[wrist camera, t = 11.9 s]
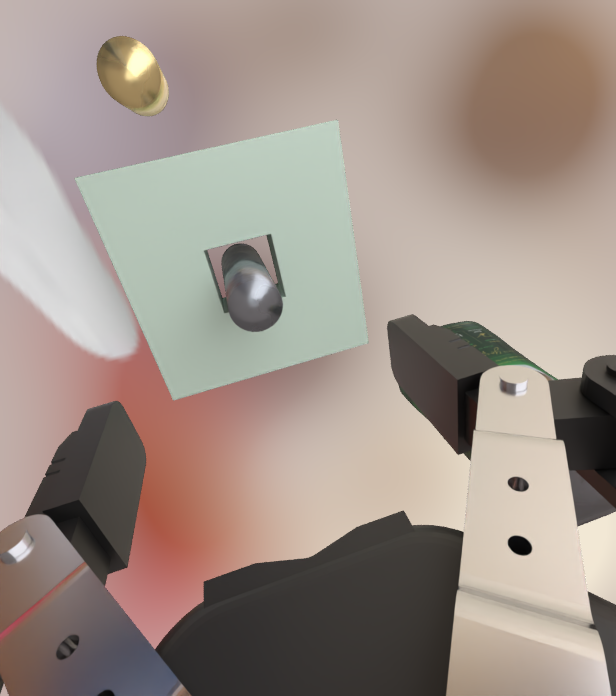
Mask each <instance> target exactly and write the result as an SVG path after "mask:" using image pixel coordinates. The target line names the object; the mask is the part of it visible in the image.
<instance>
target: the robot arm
mask: <svg viewBox="0 0 616 696" xmlns="http://www.w3.org/2000/svg"><path fill="white" fill-rule="evenodd" d="M387 330H388V339H389V349H390V357H391V367H392V371H393V374H394V377H395V379H396V381H397V382H398V384H399V385H400V387H401V388H402V389H403V390H404V391H405V392H406V394H407V395H408V396H409V397H410V398H411V400H412V401H413V402H414V403H415V404H416V406H417V407H418V408H419V409H420V410H421V411H422V413H423V414H424V415H425V416H426V417H427V419H428V420H429V421H430V422H431V423H432V424H433V426H434V427H435V428H436V429H437V430H438V431H439V433H440V434H441V435H442V436H443V437H444V439H445V440H446V441H447V442H448V443H449V445H450V446H451V447H452V448H453V449H454V451H455V452H456V453H457V454H458V455H459V454H462V453H465V452H468V451H471V450H472V454H471V464H470V474H469V485H468V495H467V505H466V515H465V526H464V532H462V531H459V530H455V529H451V528H447V527H441V526H434V525H413V526H412V525H411V523H410V521H409V519H408V517H407V516H406V514H405V512H404V511H401V512H398V513H396V514H392V515H390V516H387V517H384V518H381V519H378V520H375V521H373V522H370V523H367V524H364V525H361V526H359V527H356V528H355V529H353V530H352V531H350V532H349V533H347V534H346V535H344V536H343V537H341V538H340V539H338V540H337V541H335V542H334V543H332V544H331V545H329V546H327V547H326V548H324V549H323V550H322V551H320V552H318V553H317V554H315V555H314V556H312V557H309V558H304V559H294V560H285V561H274V562H264V563H255V564H252V565H250V566H247V567H244V568H241V569H238V570H236V571H232V572H230V573H227V574H224V575H221V576H218V577H216V578H213V579H210V580H207V581H204V601H203V602H202V603H200V604H199V605H198V606H196V607H195V608H194V609H192V610H191V611H190V612H189V613H187V614H186V615H185V616H184V617H183V618H182V619H181V620H180V621H179V622H178V623H177V624H176V625H175V626H174V627H173V628H172V629H171V630H170V631H169V632H168V634H167V635H166V636H165V637H164V638H163V639H162V641H161V642H160V643H159V645H158V646H157V648H156V649H154V648H153V647H152V646H151V644H150V643H149V642H148V641H147V639H146V638H145V637H144V636H143V634H142V633H141V632H140V630H139V629H138V628H137V627H136V625H135V624H134V623H133V622H132V620H131V619H130V618H129V617H128V615H127V614H126V613H125V612H124V610H123V609H122V608H121V607H120V605H119V604H118V603H117V601H116V600H115V599H114V598H113V596H112V595H111V594H110V593H109V592H108V590H107V589H106V588H105V584H106V579H107V575H108V574H110V573H113V572H115V571H119V570H121V569H124V568H127V567H128V561H129V555H130V550H131V545H132V539H133V533H134V528H135V522H136V517H137V510H138V505H139V500H140V494H141V489H142V483H143V477H144V472H145V466H146V453H145V449H144V446H143V443H142V441H141V439H140V437H139V435H138V433H137V432H136V430H135V428H134V426H133V424H132V422H131V420H130V419H129V417H128V415H127V413H126V411H125V409H124V407H123V406H122V405H121V403H120V402H118V401H114V402H110V403H107V404H103V405H100V406H97V407H93V408H90V409H88V410H87V411H86V413H85V415H84V418H83V420H82V422H81V424H80V426H79V429H78V431H75V432H72V433H71V434H70V435H69V436H68V437H67V438H66V440H65V441H64V442H63V443H62V444H61V445H60V446H59V447H58V449H57V451H56V453H55V455H54V457H53V459H52V461H51V463H52V464H51V465H50V466H49V468H48V470H47V472H46V474H45V475H46V477H44V478H43V480H42V483H41V484H40V486H39V488H38V490H37V493H36V494H35V497H34V499H33V501H32V503H31V505H30V507H29V509H28V511H27V513H26V515H25V517H24V518H23V519H20V520H19V521H16V522H14V523H13V524H11V525H9V526H8V527H6V528H5V529H3V530H2V531H1V532H0V693H1V690H2V687H3V684H5V687H6V689H7V692H8V694H9V696H616V605H615V604H613V603H611V602H609V601H607V600H604V599H603V598H600V597H598V596H596V595H594V594H592V593H590V592H588V591H587V584H586V578H585V572H584V566H583V559H582V553H581V547H580V540H579V534H578V527H577V521H576V514H575V508H574V501H573V495H572V489H571V482H570V476H569V471H576V472H577V473H578V474H579V475H580V476H581V477H582V478H584V479H585V480H586V481H587V482H588V483H589V484H590V485H591V486H592V487H593V488H594V489H595V490H596V491H597V492H598V493H599V494H601V495H602V496H603V497H604V498H605V499H606V500H607V501H608V502H609V503H610V504H611V505H612V506H613V507H614V508H615V509H616V355H606V356H599V357H595V358H592V359H590V360H588V361H587V362H586V363H585V365H584V368H583V374H582V378H572V379H561V380H549V381H547V379H546V378H545V377H544V376H543V375H542V374H540V373H539V372H537V371H535V370H532V369H530V368H526V367H522V366H514V365H505V366H499V365H498V364H496V363H495V362H494V361H492V360H491V359H490V358H488V357H487V356H485V355H484V354H483V353H481V352H480V351H478V350H477V349H476V348H474V347H473V346H470V344H469V343H467V342H466V341H465V340H463V339H461V338H460V337H459V336H458V335H456V334H455V333H454V332H452V331H451V330H449V329H446V328H443V327H440V326H436V325H431V326H428V325H427V324H425V323H424V322H423V321H421V320H420V319H419V318H418V317H416V316H415V315H413V314H412V315H408V316H405V317H402V318H398V319H395V320H391V321H389V322H388V326H387Z"/></svg>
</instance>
